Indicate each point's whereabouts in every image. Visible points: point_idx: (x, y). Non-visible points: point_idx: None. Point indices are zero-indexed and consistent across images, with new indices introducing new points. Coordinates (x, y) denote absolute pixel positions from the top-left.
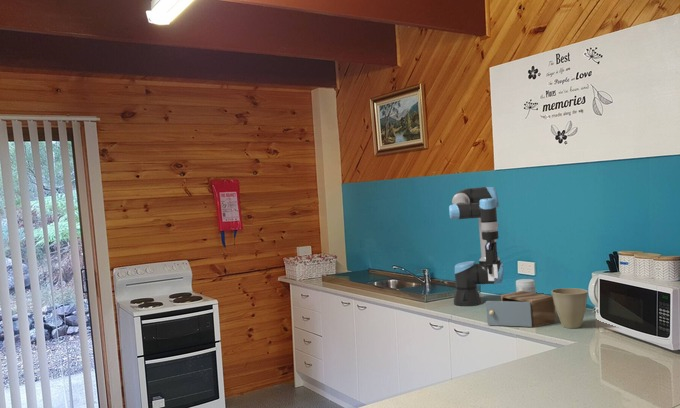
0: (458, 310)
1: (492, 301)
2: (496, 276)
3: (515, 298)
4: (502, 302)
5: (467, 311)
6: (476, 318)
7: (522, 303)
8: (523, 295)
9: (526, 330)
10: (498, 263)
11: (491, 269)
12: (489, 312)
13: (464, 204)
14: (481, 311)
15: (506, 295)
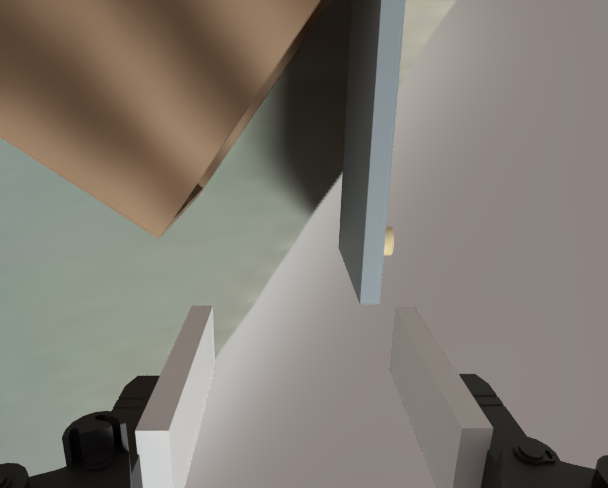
0: (44, 460)
1: (380, 257)
2: (209, 330)
3: (258, 90)
4: (388, 179)
5: (52, 415)
6: None
7: (402, 4)
8: (141, 28)
9: (430, 12)
10: (96, 422)
11: (513, 422)
12: (389, 253)
13: None
14: (28, 348)
15: (169, 187)
